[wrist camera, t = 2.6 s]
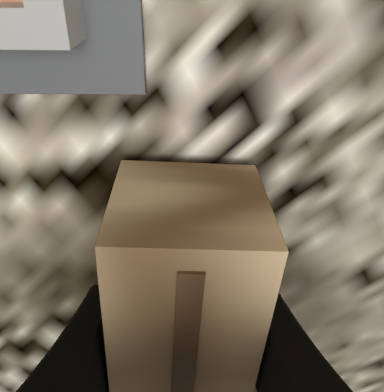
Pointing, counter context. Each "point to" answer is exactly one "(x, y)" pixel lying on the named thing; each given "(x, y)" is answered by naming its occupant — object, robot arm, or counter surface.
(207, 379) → the maple block
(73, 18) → the board
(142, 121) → the counter surface
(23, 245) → the counter surface
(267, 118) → the counter surface
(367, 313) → the counter surface
